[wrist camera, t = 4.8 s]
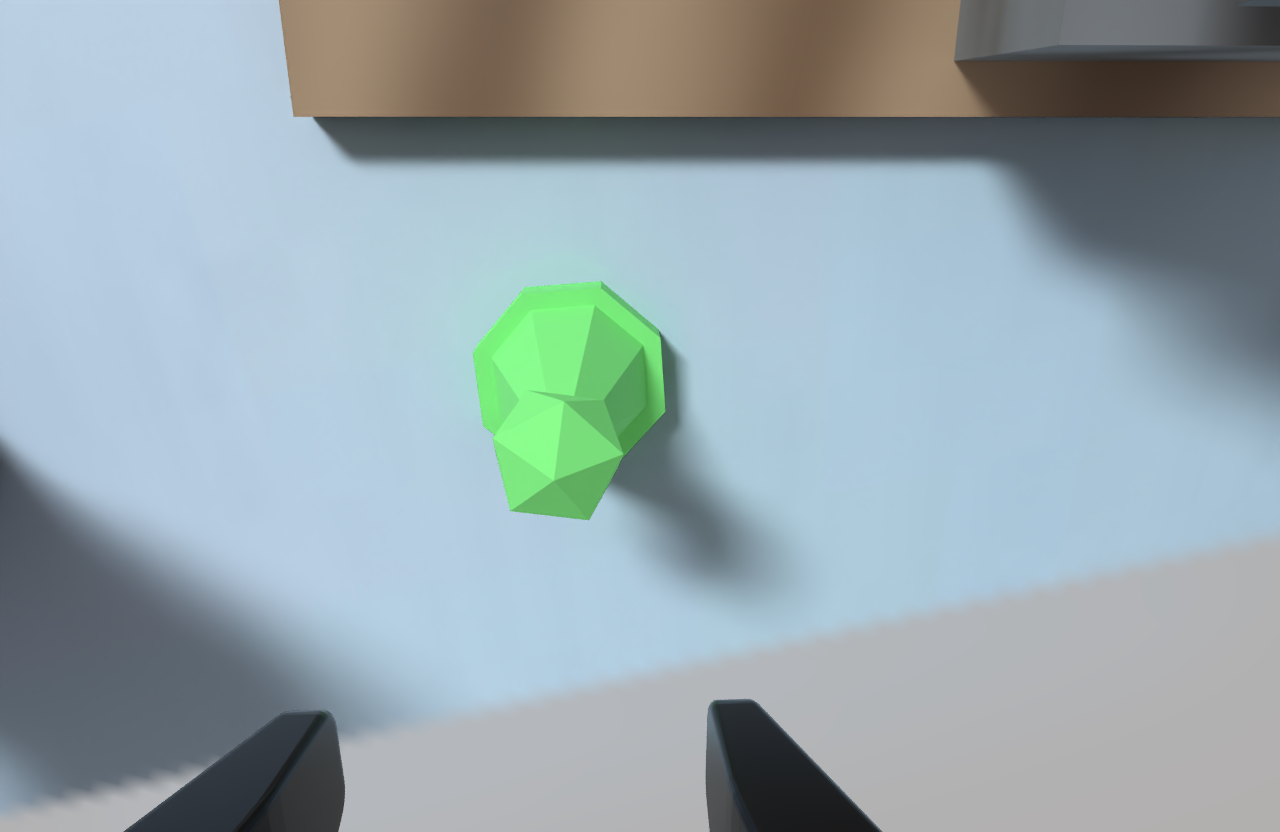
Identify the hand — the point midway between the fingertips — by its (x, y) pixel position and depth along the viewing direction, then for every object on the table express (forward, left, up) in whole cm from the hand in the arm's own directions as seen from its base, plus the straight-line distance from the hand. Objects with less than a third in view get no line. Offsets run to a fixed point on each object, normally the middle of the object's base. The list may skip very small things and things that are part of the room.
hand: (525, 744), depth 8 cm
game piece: (0, 0, -12) cm, 12 cm away
